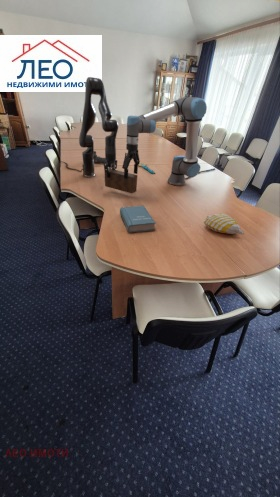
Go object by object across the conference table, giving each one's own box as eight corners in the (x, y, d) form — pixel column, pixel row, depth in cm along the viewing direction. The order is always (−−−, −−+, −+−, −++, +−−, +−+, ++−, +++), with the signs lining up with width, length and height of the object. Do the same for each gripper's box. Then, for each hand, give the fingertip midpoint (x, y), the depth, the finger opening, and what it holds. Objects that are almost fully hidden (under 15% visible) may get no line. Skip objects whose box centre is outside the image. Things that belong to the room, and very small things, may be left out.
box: (104, 186, 168) (104, 170, 161) (109, 183, 172) (109, 168, 165) (132, 193, 160) (133, 177, 152) (136, 191, 164) (137, 175, 157)
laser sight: (105, 165, 227) (104, 155, 221) (84, 162, 230) (83, 152, 224) (108, 162, 235) (108, 152, 229) (88, 160, 238) (87, 150, 232)
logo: (136, 163, 238) (136, 163, 238) (145, 163, 241) (145, 162, 240) (146, 174, 213) (146, 173, 212) (155, 173, 215) (155, 172, 215)
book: (154, 230, 131) (155, 222, 128) (128, 232, 126) (128, 225, 124) (143, 212, 148) (143, 205, 145) (119, 214, 144) (120, 207, 141)
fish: (254, 225, 128) (232, 232, 118) (249, 236, 132) (228, 244, 123) (221, 208, 144) (199, 213, 134) (217, 218, 149) (196, 224, 139)
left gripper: (111, 149, 161) (112, 172, 171) (100, 153, 150) (101, 177, 160) (120, 151, 158) (120, 174, 168) (109, 155, 148) (109, 180, 158)
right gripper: (127, 147, 133) (126, 182, 146) (145, 141, 151) (143, 172, 164) (117, 145, 136) (116, 179, 148) (136, 139, 154) (134, 170, 166)
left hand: (110, 176), depth 164 cm, fingers closed on box, 6 cm apart
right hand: (130, 176), depth 156 cm, fingers open, 13 cm apart
